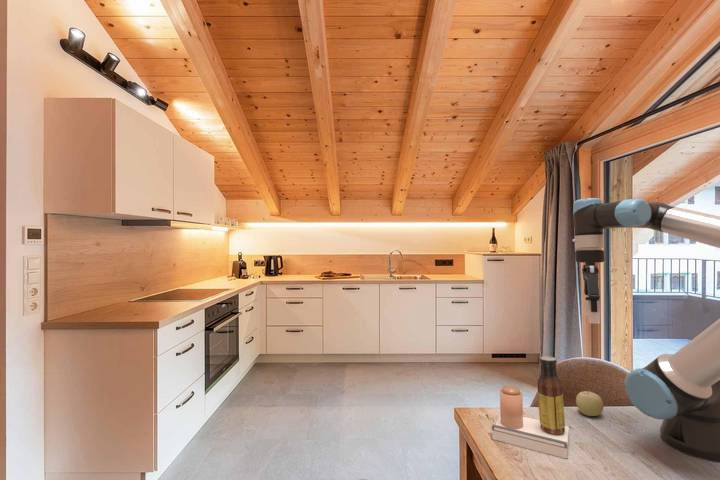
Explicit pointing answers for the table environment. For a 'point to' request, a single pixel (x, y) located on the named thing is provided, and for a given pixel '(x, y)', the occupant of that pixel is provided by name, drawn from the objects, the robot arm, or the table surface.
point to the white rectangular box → (533, 437)
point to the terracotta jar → (511, 407)
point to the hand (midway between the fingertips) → (592, 319)
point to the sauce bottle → (550, 398)
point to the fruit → (589, 403)
